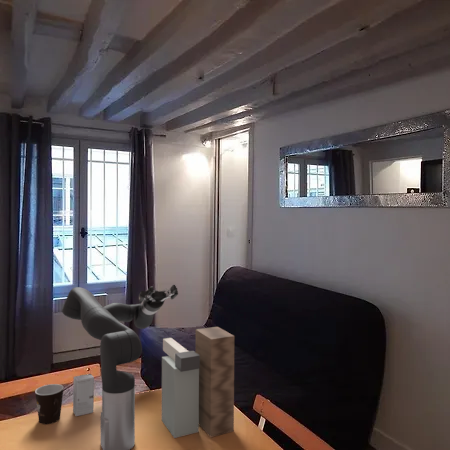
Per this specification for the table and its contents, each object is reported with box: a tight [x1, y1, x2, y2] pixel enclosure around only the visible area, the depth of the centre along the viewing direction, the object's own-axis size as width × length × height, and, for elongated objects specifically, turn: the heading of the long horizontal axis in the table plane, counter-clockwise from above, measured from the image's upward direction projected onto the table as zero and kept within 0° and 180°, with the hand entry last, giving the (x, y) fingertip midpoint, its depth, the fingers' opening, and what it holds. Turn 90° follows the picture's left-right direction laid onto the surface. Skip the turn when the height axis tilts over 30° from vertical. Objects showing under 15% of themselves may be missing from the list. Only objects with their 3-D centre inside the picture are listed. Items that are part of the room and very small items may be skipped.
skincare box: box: [72, 373, 95, 417], centre depth 140 cm, size 6×4×12 cm
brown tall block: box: [194, 326, 235, 438], centre depth 131 cm, size 8×12×30 cm, turn 27°
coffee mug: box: [34, 383, 64, 425], centre depth 133 cm, size 12×9×10 cm
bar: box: [162, 337, 200, 372], centre depth 132 cm, size 6×21×4 cm, turn 27°
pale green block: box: [161, 355, 200, 439], centre depth 131 cm, size 8×12×21 cm, turn 27°
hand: (163, 287), depth 151 cm, fingers open, 8 cm apart
